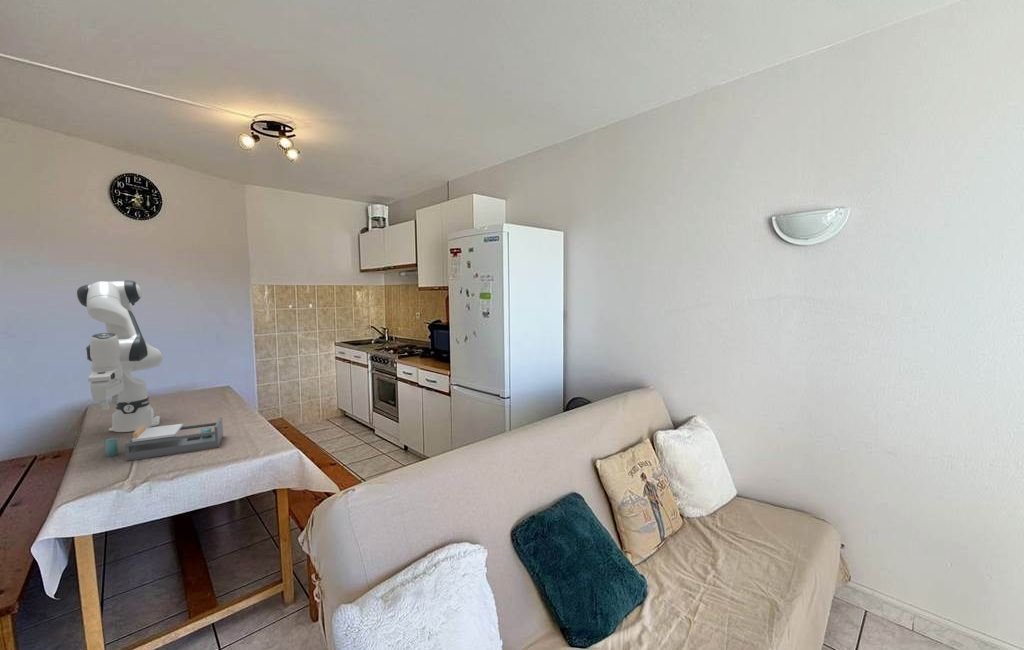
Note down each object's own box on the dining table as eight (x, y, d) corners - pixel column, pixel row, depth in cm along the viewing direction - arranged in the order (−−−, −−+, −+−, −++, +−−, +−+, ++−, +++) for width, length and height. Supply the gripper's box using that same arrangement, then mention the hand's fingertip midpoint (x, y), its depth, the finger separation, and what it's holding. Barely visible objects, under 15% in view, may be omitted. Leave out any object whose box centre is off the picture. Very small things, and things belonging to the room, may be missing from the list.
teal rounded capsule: (108, 454, 169) (106, 438, 169) (119, 452, 171) (118, 437, 171) (104, 457, 166) (103, 441, 166) (116, 455, 168) (115, 440, 167)
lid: (143, 430, 176) (143, 423, 176) (183, 425, 183) (182, 419, 183) (132, 442, 163) (131, 434, 163) (175, 436, 170) (174, 429, 170)
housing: (138, 448, 176) (136, 427, 175) (223, 436, 190) (222, 417, 190) (126, 460, 163) (124, 438, 162) (218, 447, 177) (217, 426, 176)
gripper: (107, 370, 174) (110, 402, 175) (85, 378, 156) (89, 414, 157) (127, 368, 177) (130, 400, 178) (108, 377, 159) (111, 412, 160)
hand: (110, 407), depth 167 cm, fingers open, 8 cm apart
